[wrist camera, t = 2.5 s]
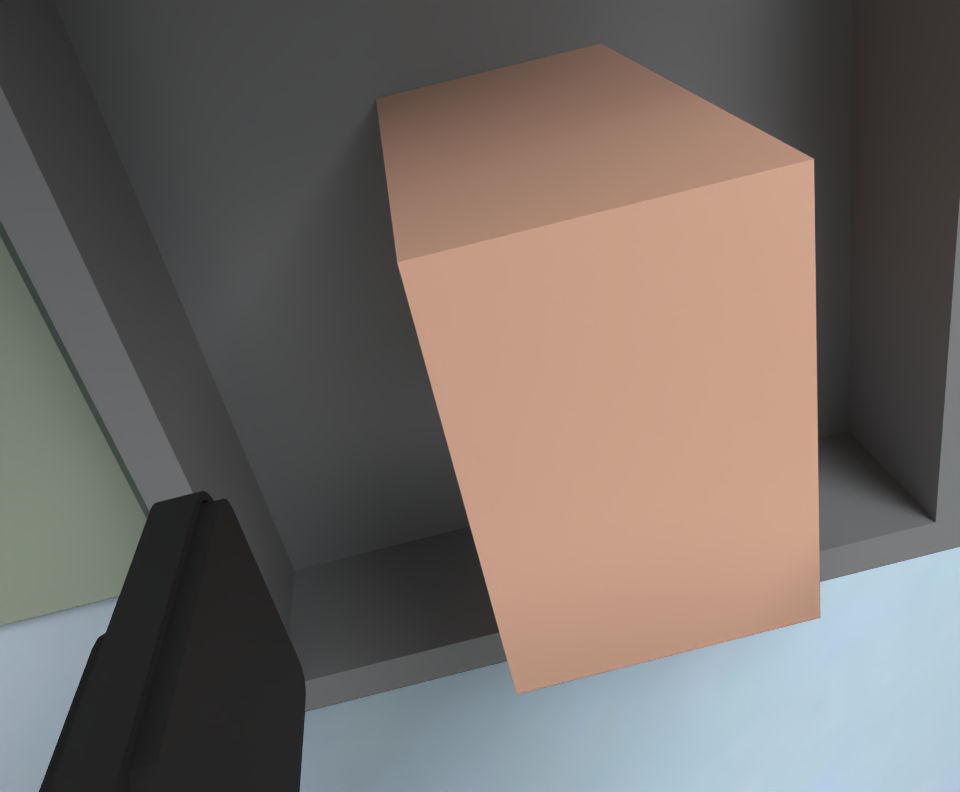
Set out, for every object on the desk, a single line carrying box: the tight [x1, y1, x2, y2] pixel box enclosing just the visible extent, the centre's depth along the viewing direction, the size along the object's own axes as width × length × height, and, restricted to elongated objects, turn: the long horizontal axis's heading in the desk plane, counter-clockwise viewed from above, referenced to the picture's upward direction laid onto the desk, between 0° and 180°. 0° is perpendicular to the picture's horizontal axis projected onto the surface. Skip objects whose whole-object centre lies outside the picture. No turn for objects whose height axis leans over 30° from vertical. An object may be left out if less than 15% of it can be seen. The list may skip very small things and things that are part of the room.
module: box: [376, 44, 820, 694], centre depth 13 cm, size 6×4×8 cm, turn 12°
